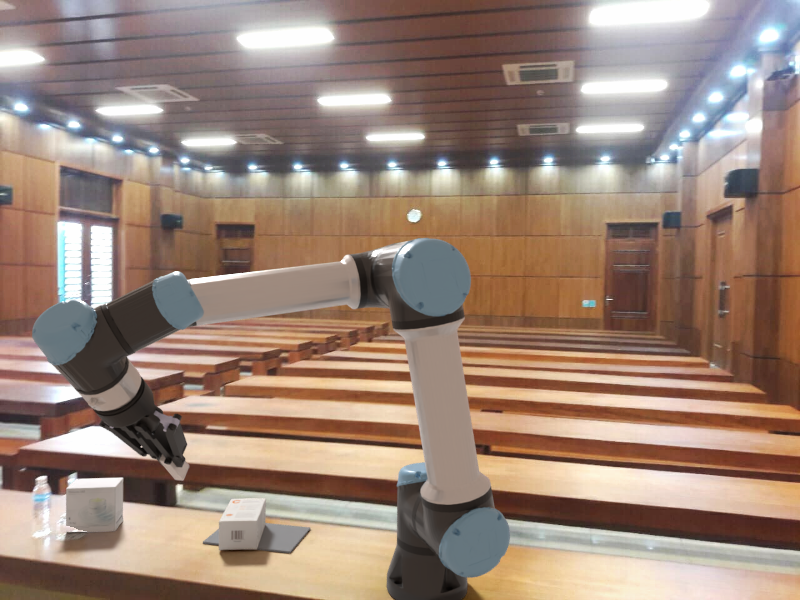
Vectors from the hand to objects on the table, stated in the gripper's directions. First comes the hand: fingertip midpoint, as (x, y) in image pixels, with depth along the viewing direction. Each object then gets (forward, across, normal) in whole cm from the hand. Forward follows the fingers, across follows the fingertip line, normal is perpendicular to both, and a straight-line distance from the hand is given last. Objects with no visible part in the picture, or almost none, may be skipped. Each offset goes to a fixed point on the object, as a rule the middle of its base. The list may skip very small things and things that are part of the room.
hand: (182, 472), depth 99 cm
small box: (+30, -1, +2) cm, 30 cm away
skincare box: (+36, -39, +2) cm, 53 cm away
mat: (+39, -1, +5) cm, 39 cm away
